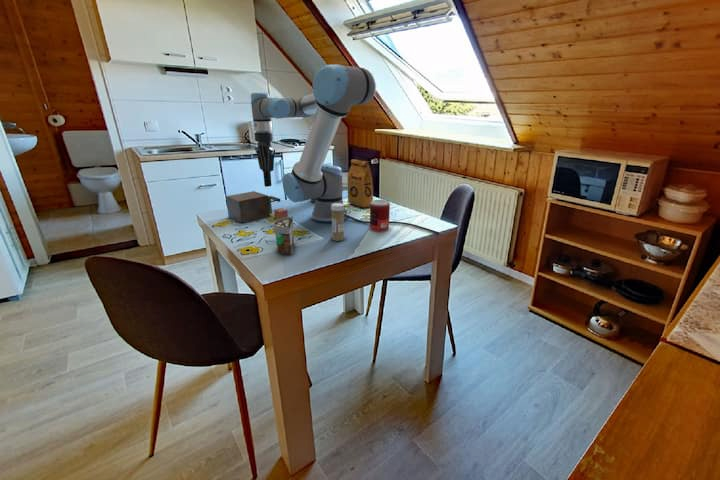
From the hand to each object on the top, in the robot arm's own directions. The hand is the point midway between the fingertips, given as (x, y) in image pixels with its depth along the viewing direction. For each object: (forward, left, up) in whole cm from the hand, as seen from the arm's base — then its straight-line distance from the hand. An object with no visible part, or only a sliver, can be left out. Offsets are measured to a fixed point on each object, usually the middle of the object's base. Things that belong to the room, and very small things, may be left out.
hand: (268, 186), depth 156 cm
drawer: (0, +6, -11) cm, 13 cm away
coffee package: (-21, -39, -12) cm, 46 cm away
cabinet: (0, +11, -12) cm, 16 cm away
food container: (-42, +21, -12) cm, 49 cm away
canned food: (-51, -19, -12) cm, 56 cm away
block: (-13, +2, -12) cm, 18 cm away
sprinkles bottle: (-48, +1, -12) cm, 50 cm away
